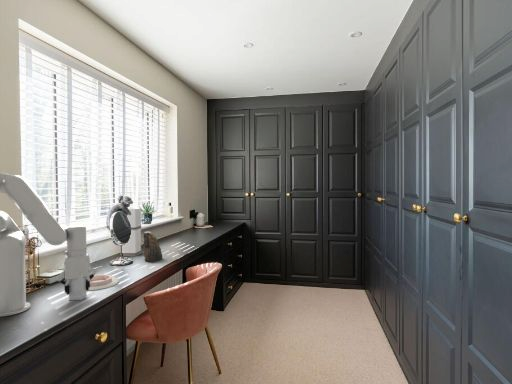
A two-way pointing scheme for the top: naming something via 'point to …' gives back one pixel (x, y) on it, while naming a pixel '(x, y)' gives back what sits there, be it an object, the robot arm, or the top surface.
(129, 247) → the white tall boxy piece
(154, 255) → the rock
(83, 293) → the skincare box
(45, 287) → the top surface
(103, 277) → the vanity tray
